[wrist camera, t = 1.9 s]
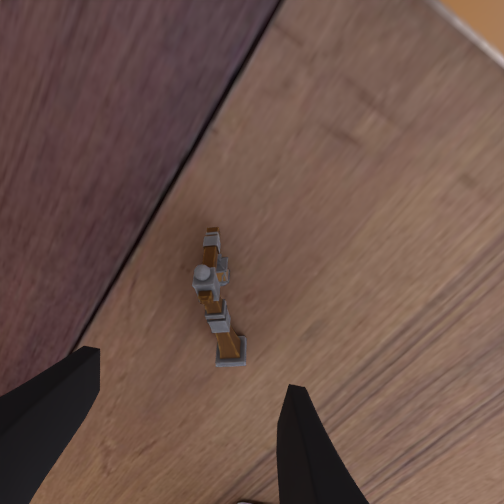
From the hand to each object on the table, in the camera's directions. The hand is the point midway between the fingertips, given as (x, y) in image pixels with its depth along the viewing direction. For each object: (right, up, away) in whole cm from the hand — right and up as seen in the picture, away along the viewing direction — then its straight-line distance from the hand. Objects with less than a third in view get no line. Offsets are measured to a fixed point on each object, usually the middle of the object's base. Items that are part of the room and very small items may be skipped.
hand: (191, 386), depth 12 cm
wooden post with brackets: (0, +3, +7) cm, 8 cm away
